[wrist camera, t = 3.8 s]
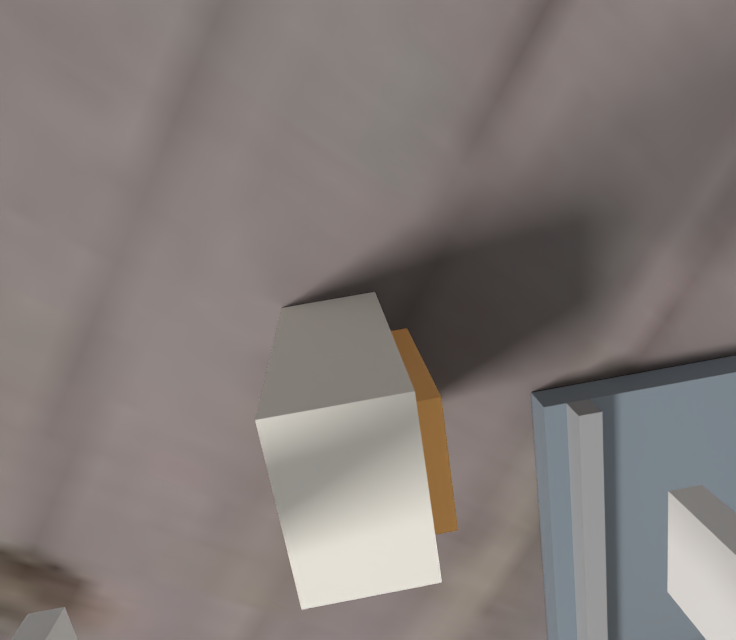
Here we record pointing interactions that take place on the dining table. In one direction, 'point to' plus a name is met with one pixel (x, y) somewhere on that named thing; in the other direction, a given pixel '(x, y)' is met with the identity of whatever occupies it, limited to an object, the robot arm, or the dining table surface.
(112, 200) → the dining table surface
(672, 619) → the rail
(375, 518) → the white block orange panel
